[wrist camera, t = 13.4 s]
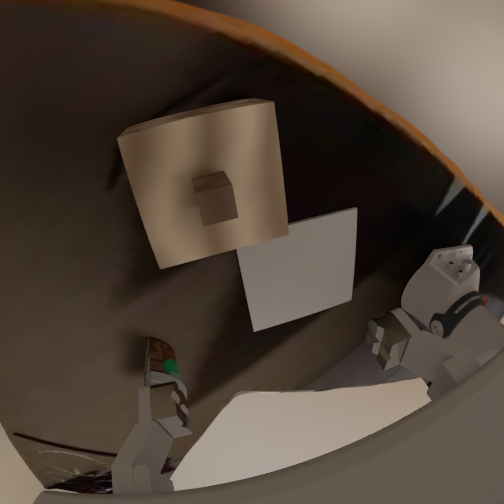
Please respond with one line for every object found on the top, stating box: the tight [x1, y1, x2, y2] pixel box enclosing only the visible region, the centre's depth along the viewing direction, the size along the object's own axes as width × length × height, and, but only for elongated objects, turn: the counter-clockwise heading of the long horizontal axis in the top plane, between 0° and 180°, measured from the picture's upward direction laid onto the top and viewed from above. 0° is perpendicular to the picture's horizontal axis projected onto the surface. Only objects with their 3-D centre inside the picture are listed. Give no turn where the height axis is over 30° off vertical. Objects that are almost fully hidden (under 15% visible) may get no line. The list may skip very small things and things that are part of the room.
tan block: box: [117, 98, 289, 269], centre depth 29 cm, size 14×14×11 cm
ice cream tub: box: [144, 337, 187, 398], centre depth 43 cm, size 12×6×10 cm, turn 160°
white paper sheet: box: [236, 207, 357, 332], centre depth 45 cm, size 18×18×1 cm
